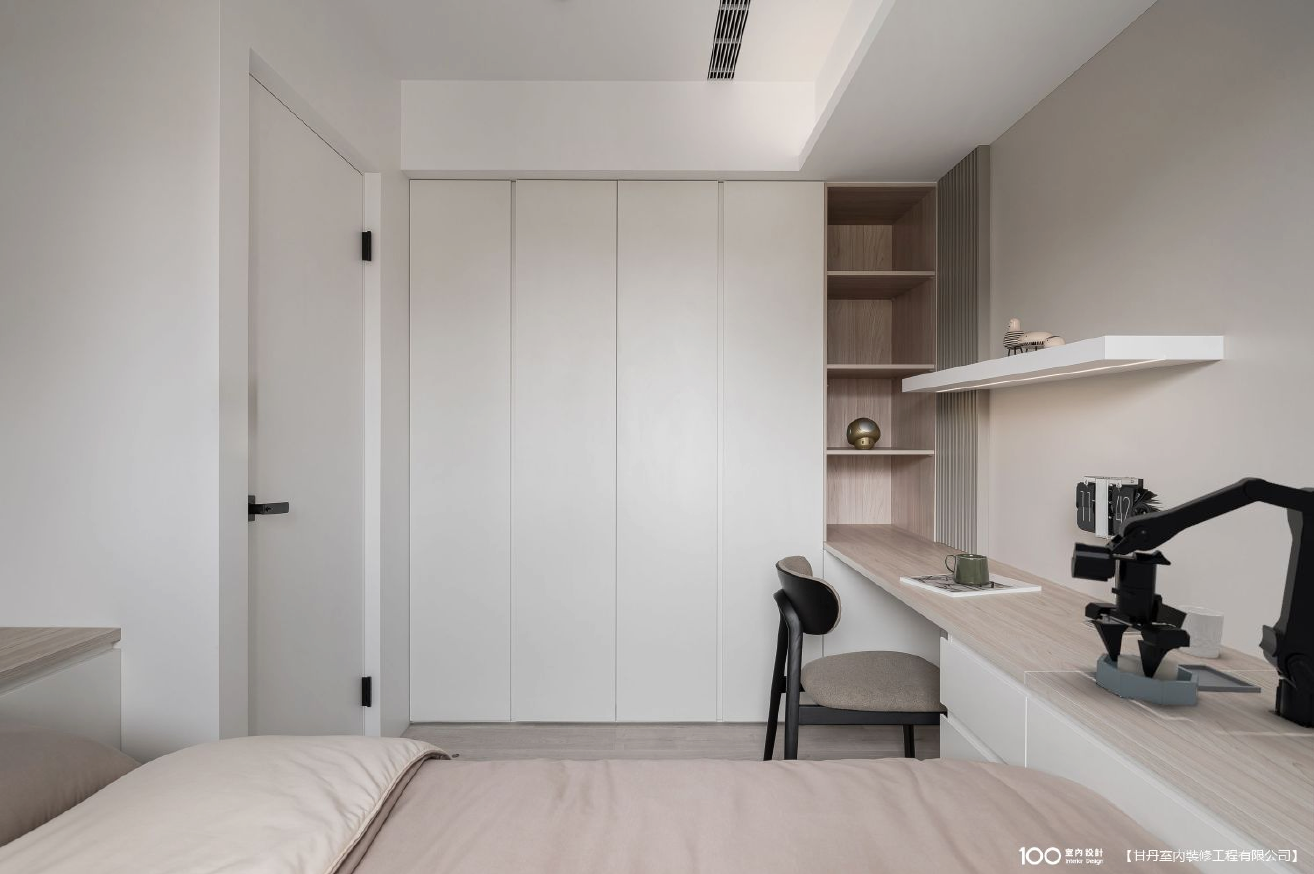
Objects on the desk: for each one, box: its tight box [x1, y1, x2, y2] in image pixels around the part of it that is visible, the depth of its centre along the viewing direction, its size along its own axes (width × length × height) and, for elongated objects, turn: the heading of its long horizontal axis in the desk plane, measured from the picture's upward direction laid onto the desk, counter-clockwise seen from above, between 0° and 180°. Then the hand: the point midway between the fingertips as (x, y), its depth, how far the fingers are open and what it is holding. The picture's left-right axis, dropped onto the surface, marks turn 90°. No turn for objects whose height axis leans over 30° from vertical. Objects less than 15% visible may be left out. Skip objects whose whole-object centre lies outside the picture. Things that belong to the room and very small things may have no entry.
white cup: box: [1177, 605, 1225, 659], centre depth 147 cm, size 8×8×10 cm
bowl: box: [1095, 652, 1199, 706], centre depth 124 cm, size 15×15×4 cm
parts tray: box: [1178, 663, 1262, 694], centre depth 130 cm, size 12×13×2 cm
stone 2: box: [1117, 655, 1145, 676], centre depth 124 cm, size 4×4×5 cm
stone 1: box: [1153, 656, 1179, 681], centre depth 124 cm, size 4×4×5 cm
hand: (1131, 669), depth 124 cm, fingers open, 8 cm apart
